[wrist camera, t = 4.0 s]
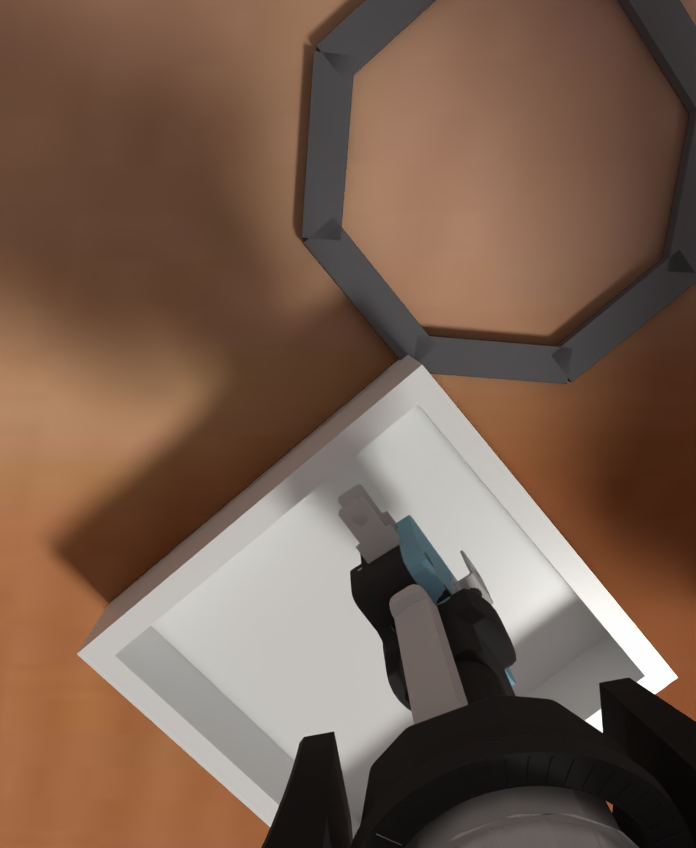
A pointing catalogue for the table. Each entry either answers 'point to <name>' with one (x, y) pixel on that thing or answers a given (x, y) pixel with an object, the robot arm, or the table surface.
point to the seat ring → (322, 227)
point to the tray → (351, 598)
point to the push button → (480, 721)
